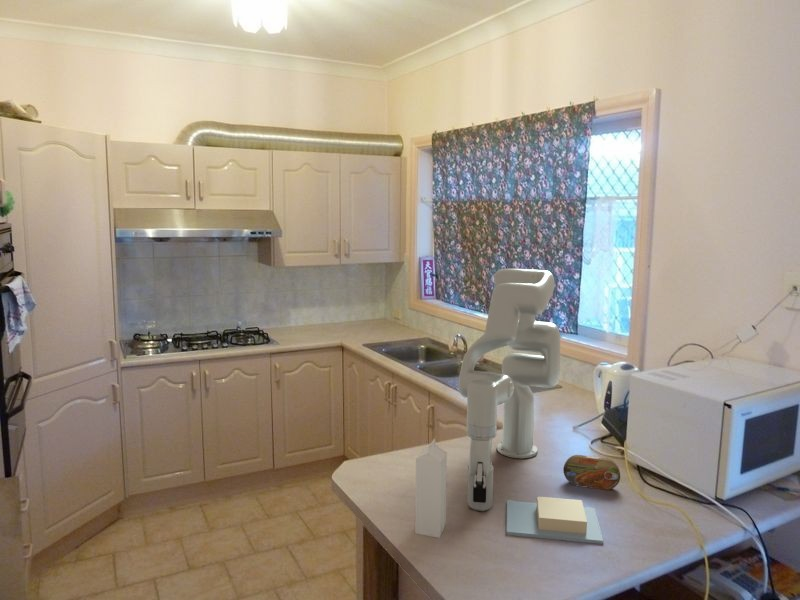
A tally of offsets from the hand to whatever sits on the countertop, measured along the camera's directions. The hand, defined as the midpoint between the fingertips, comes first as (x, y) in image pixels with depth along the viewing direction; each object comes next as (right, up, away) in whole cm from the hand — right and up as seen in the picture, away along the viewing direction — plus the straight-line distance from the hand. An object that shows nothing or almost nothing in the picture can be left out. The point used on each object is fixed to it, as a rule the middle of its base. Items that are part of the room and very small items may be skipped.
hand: (480, 494), depth 159 cm
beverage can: (0, -3, +1) cm, 3 cm away
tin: (+33, -2, +14) cm, 35 cm away
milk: (-13, -5, -11) cm, 18 cm away
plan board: (+17, -5, -7) cm, 19 cm away
